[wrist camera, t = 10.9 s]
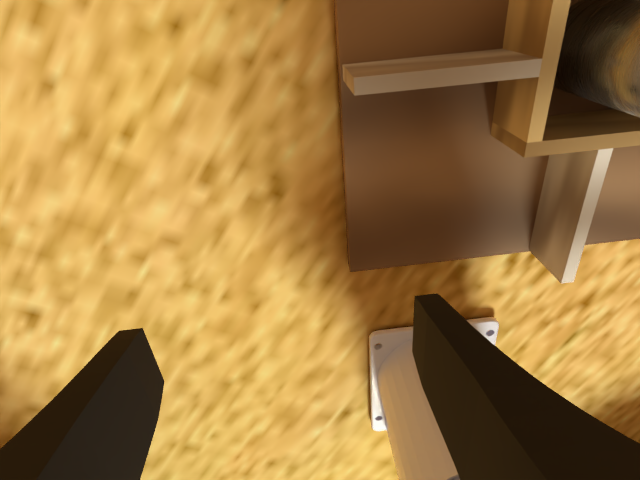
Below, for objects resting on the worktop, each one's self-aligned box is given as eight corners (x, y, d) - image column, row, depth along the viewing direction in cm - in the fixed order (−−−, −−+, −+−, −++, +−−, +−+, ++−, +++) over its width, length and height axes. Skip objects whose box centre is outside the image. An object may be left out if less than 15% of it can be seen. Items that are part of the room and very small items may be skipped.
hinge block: (630, 231, 23) (688, 270, 20) (348, 263, 23) (359, 308, 19) (768, -152, 15) (905, -193, 12) (328, -114, 14) (342, -145, 11)
